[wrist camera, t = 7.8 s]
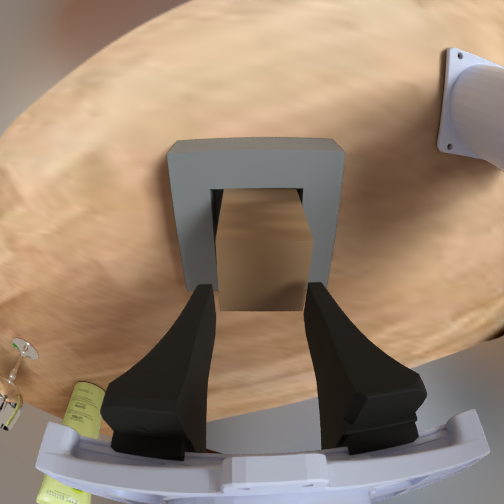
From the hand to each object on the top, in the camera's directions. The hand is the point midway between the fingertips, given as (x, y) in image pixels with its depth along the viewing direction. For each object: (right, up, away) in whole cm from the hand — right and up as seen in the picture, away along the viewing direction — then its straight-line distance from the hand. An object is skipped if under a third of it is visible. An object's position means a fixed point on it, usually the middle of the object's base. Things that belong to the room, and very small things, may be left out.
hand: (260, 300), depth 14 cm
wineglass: (-31, -11, +18) cm, 38 cm away
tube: (-23, -17, +23) cm, 37 cm away
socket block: (0, +5, +8) cm, 9 cm away
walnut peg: (0, +5, +7) cm, 9 cm away
